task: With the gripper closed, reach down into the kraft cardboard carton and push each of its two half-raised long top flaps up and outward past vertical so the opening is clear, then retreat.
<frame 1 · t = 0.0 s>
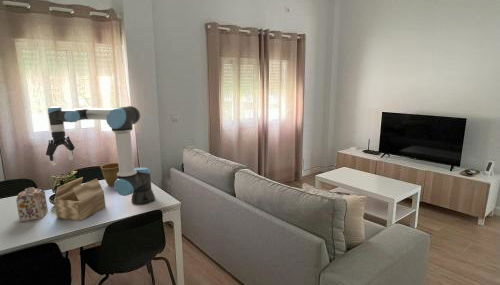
hand: (62, 162, 201), 28 cm above the table, fingers open, 13 cm apart
plant pot: (113, 185, 238), on the table
near flap: (88, 189, 185), point 16 cm above the table, hinge at 65.0°
carton: (82, 212, 190), on the table
far flap: (69, 187, 188), point 16 cm above the table, hinge at 65.0°
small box: (90, 198, 213), on the table
decorative jar: (34, 216, 186), on the table
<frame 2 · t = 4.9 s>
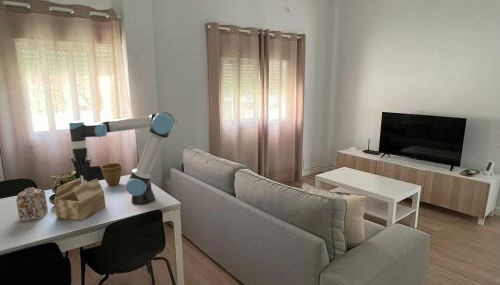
hand: (84, 185, 185), 18 cm above the table, fingers closed
near flap: (88, 189, 185), point 16 cm above the table, hinge at 65.9°, touching gripper
everything else where it was.
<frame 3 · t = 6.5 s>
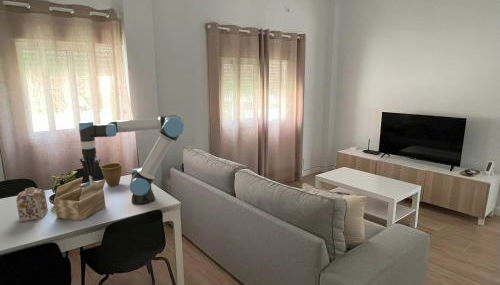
hand: (92, 185, 183), 19 cm above the table, fingers closed
near flap: (92, 189, 184), point 16 cm above the table, hinge at 113.5°, touching gripper
everything else where it was.
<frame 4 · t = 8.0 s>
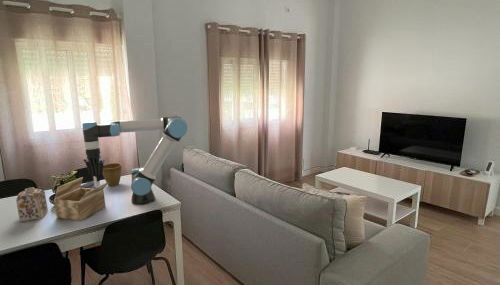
hand: (97, 186, 183), 18 cm above the table, fingers closed
near flap: (94, 191, 184), point 15 cm above the table, hinge at 135.4°
everything else where it was.
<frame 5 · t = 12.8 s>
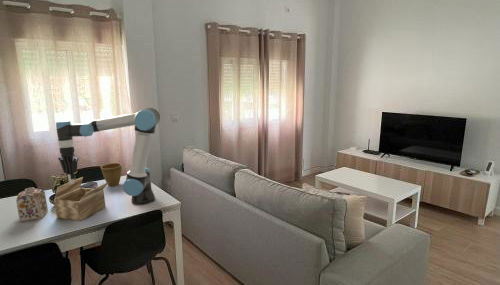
hand: (71, 183, 187), 19 cm above the table, fingers closed
far flap: (69, 187, 188), point 16 cm above the table, hinge at 65.3°, touching gripper
everything else where it was.
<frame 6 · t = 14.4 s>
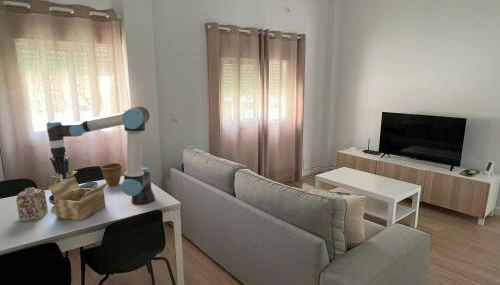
hand: (63, 183, 189), 18 cm above the table, fingers closed
far flap: (64, 187, 189), point 16 cm above the table, hinge at 115.1°, touching gripper
everything else where it was.
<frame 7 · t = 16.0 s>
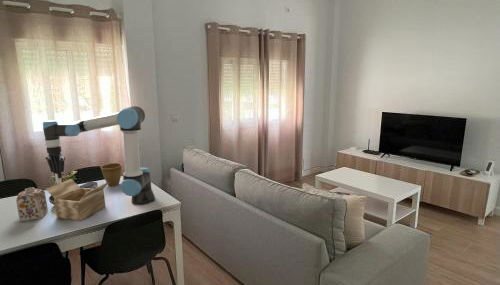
hand: (59, 182, 190), 18 cm above the table, fingers closed
far flap: (63, 188, 190), point 15 cm above the table, hinge at 136.1°
everything else where it was.
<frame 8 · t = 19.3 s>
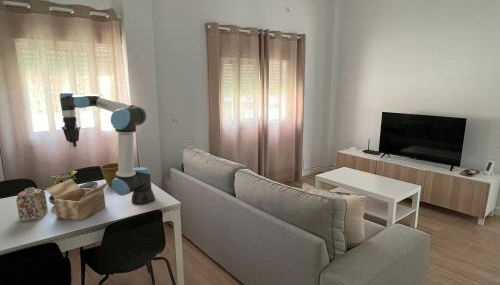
hand: (74, 151, 203), 34 cm above the table, fingers closed
nothing on the table moved.
at the end: near flap at +136° (first picture: +65°); far flap at +136° (first picture: +65°) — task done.
